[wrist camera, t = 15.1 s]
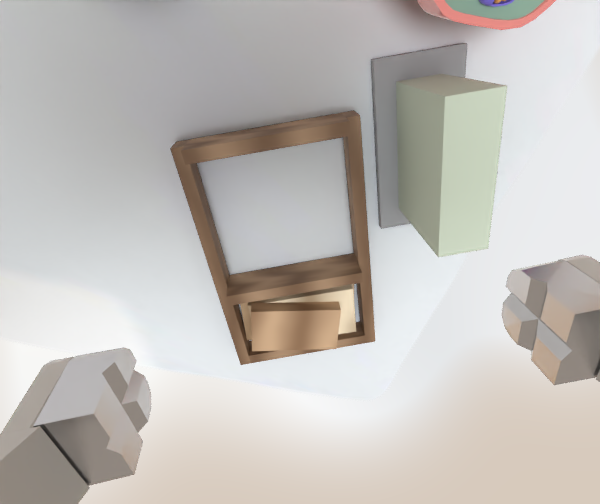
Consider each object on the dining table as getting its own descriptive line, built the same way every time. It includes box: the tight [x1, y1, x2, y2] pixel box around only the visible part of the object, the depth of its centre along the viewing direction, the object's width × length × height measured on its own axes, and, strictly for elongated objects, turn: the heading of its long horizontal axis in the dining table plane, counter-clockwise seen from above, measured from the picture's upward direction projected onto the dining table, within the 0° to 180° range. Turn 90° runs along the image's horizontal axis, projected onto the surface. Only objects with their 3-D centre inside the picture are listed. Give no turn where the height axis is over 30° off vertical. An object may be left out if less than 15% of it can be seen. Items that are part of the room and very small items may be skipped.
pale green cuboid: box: [396, 74, 507, 257], centre depth 31 cm, size 4×12×10 cm, turn 9°
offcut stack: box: [240, 284, 356, 351], centre depth 43 cm, size 13×7×4 cm, turn 94°
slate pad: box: [371, 43, 467, 229], centre depth 36 cm, size 8×16×1 cm, turn 9°
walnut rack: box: [170, 111, 375, 365], centre depth 39 cm, size 16×26×4 cm, turn 9°
